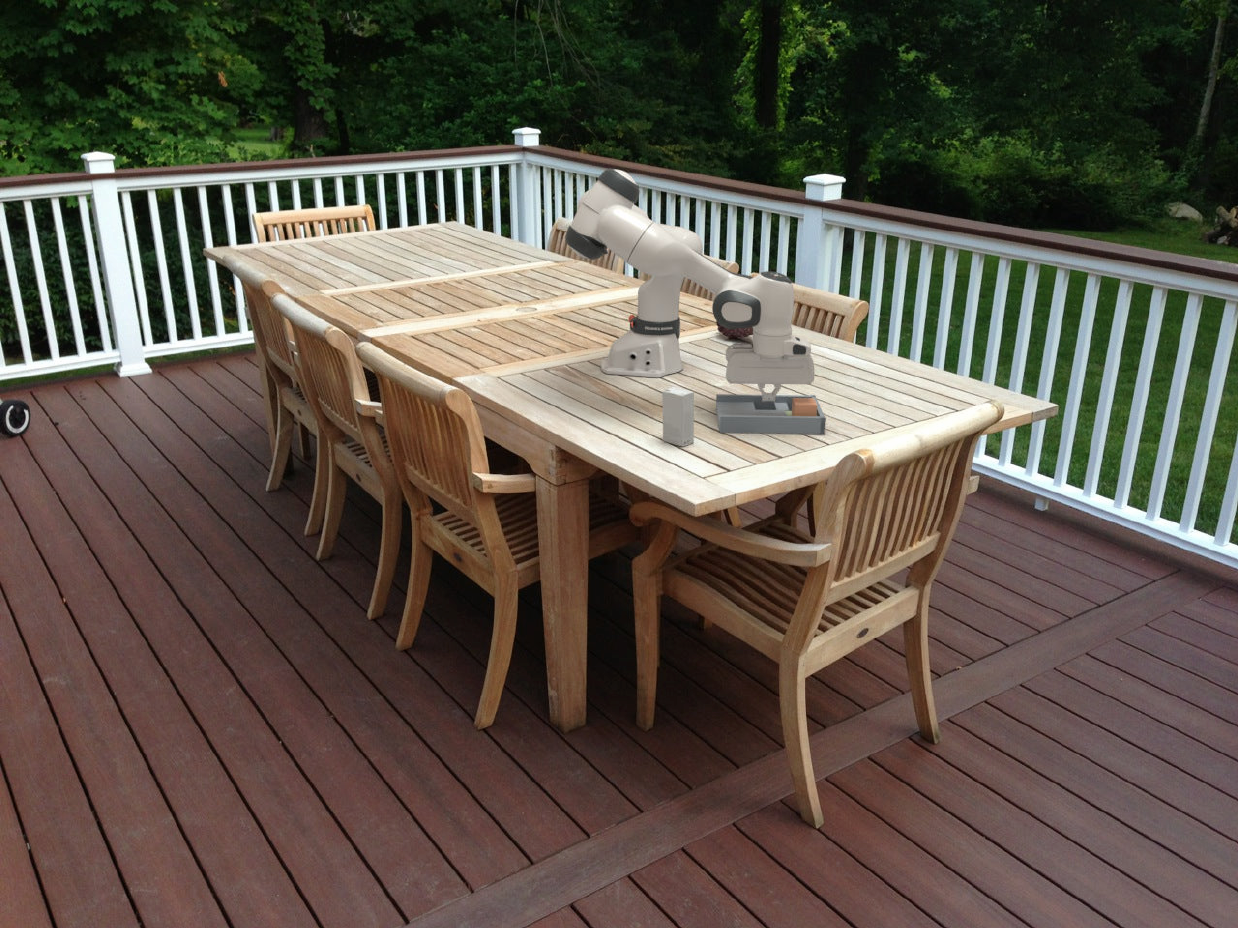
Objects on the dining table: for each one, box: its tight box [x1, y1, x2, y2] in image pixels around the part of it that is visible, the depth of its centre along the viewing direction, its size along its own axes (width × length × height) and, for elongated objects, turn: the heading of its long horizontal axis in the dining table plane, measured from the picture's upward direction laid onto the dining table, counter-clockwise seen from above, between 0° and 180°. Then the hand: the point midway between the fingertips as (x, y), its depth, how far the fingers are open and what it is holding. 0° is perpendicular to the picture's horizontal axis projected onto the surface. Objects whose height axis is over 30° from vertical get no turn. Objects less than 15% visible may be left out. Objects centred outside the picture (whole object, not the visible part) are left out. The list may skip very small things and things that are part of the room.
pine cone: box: [715, 320, 753, 340], centre depth 326 cm, size 18×10×10 cm, turn 32°
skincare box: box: [661, 386, 695, 447], centre depth 243 cm, size 6×4×12 cm
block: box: [792, 398, 817, 417], centre depth 254 cm, size 5×5×4 cm
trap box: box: [715, 393, 827, 435], centre depth 258 cm, size 24×17×4 cm
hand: (768, 401), depth 255 cm, fingers closed
